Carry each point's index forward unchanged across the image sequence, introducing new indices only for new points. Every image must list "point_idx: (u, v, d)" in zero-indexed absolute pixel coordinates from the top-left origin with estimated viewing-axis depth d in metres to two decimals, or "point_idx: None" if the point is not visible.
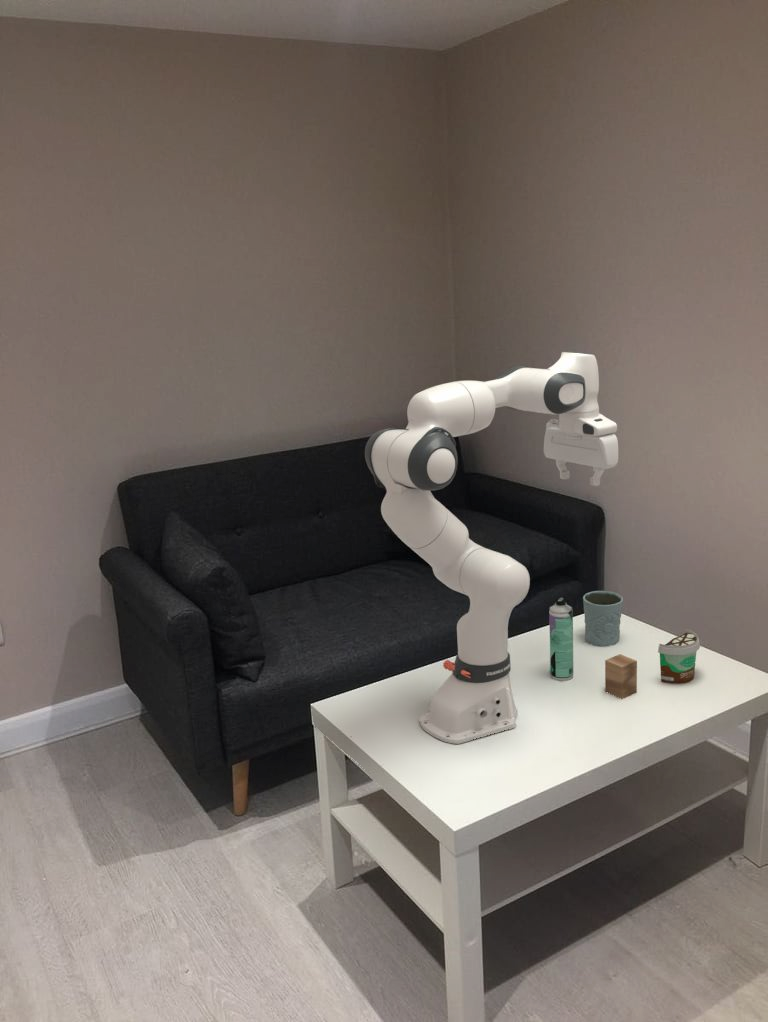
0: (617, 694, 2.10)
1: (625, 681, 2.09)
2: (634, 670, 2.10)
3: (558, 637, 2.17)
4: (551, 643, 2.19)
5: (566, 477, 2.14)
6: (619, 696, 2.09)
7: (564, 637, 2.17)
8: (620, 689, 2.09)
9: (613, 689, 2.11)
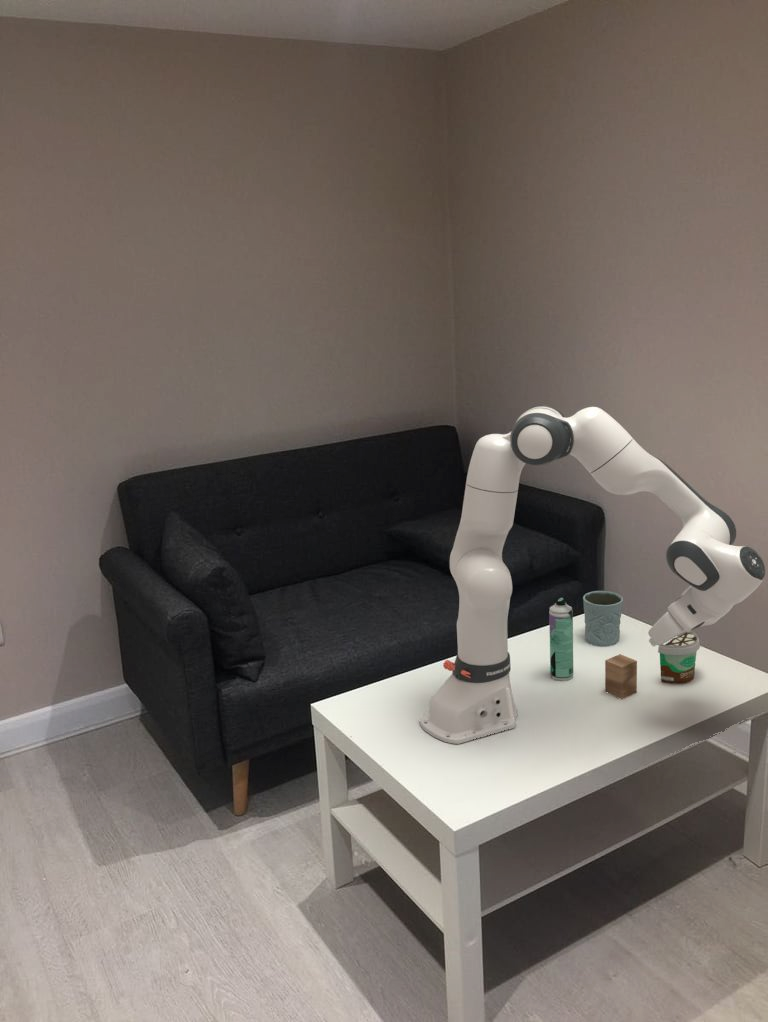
0: (617, 694, 2.10)
1: (625, 681, 2.09)
2: (634, 670, 2.10)
3: (558, 637, 2.17)
4: (551, 643, 2.19)
5: None
6: (619, 696, 2.09)
7: (564, 637, 2.17)
8: (620, 689, 2.09)
9: (613, 689, 2.11)
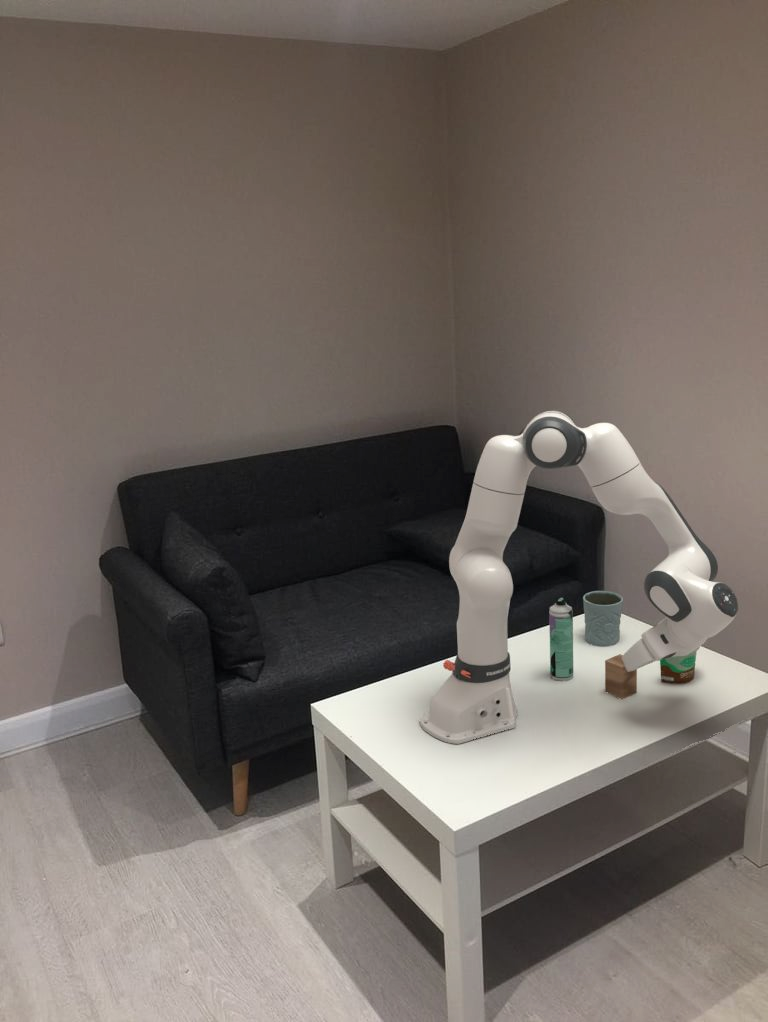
0: (617, 694, 2.10)
1: (625, 681, 2.09)
2: (634, 670, 2.10)
3: (558, 637, 2.17)
4: (551, 643, 2.19)
5: None
6: (619, 696, 2.09)
7: (564, 637, 2.17)
8: (620, 689, 2.09)
9: (613, 689, 2.11)
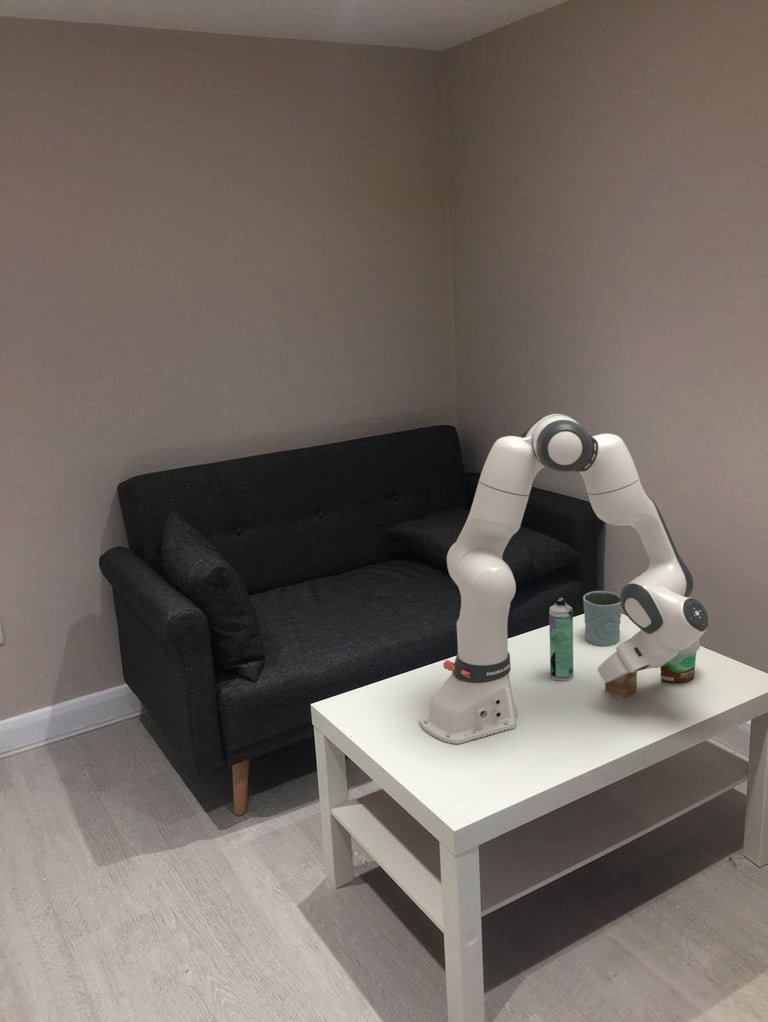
0: (617, 694, 2.10)
1: (625, 681, 2.09)
2: None
3: (558, 637, 2.17)
4: (551, 643, 2.19)
5: None
6: (619, 696, 2.09)
7: (564, 637, 2.17)
8: (620, 688, 2.09)
9: (613, 688, 2.11)
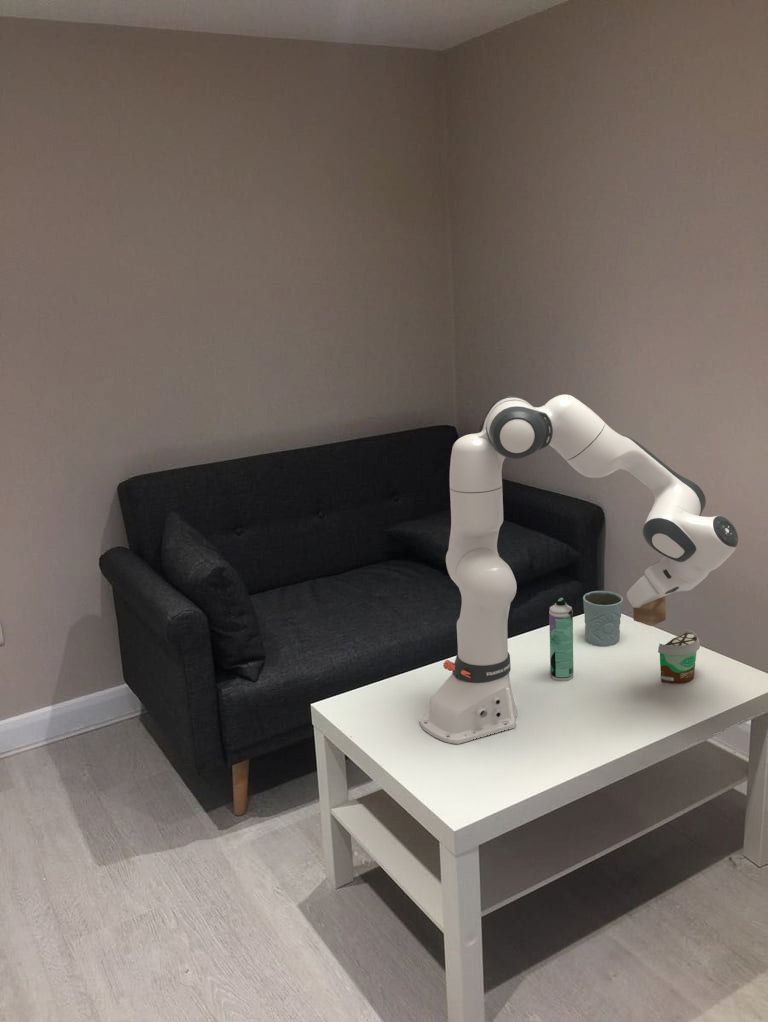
0: (646, 621, 2.07)
1: (654, 607, 2.06)
2: (662, 597, 2.07)
3: (558, 637, 2.17)
4: (551, 643, 2.19)
5: None
6: (648, 623, 2.07)
7: (564, 637, 2.17)
8: (649, 615, 2.06)
9: (641, 616, 2.08)
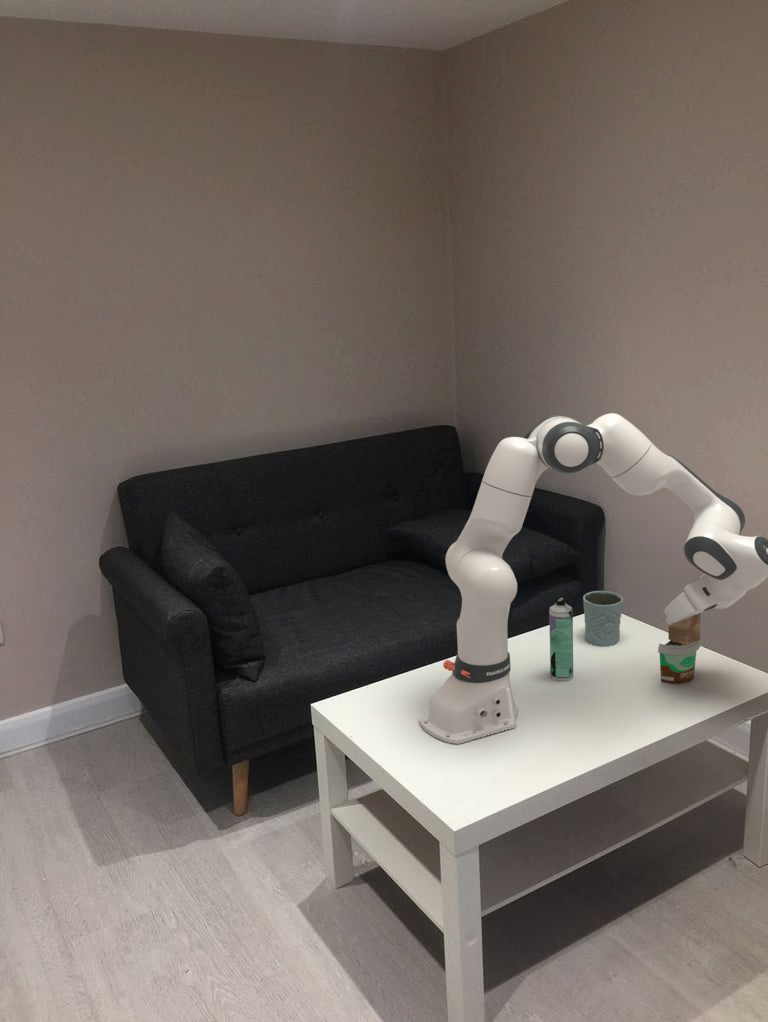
0: (681, 641, 2.12)
1: (690, 627, 2.10)
2: (698, 617, 2.11)
3: (558, 637, 2.17)
4: (551, 643, 2.19)
5: None
6: (683, 643, 2.11)
7: (564, 637, 2.17)
8: (685, 635, 2.10)
9: (677, 636, 2.12)
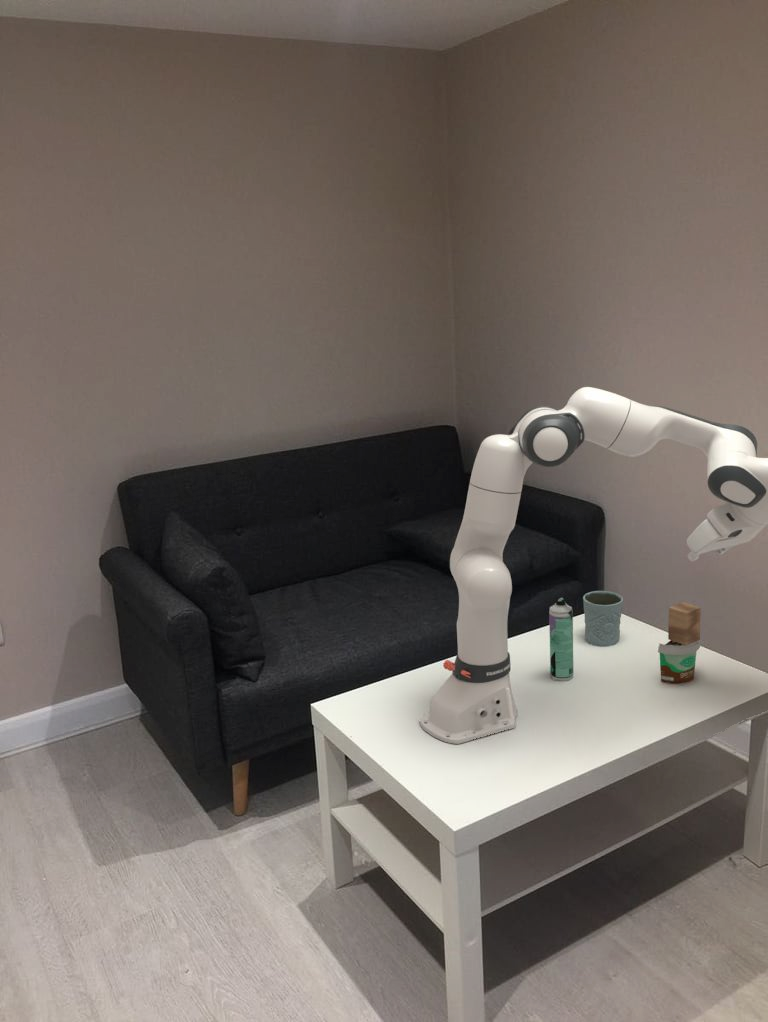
0: (681, 641, 2.12)
1: (689, 627, 2.10)
2: (698, 617, 2.11)
3: (558, 637, 2.17)
4: (551, 643, 2.19)
5: (716, 550, 2.07)
6: (683, 643, 2.11)
7: (564, 637, 2.17)
8: (685, 635, 2.10)
9: (676, 635, 2.13)
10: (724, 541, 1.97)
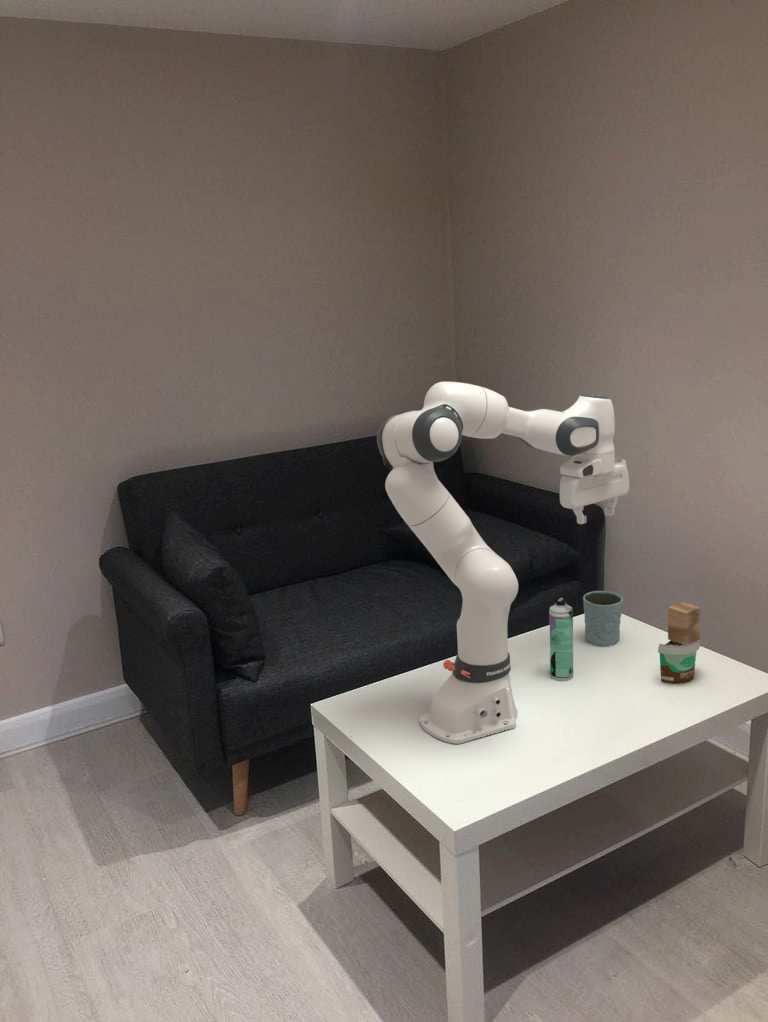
0: (680, 641, 2.12)
1: (689, 627, 2.10)
2: (697, 617, 2.12)
3: (558, 637, 2.17)
4: (551, 643, 2.19)
5: (606, 513, 2.21)
6: (683, 642, 2.11)
7: (564, 637, 2.17)
8: (684, 635, 2.10)
9: (676, 635, 2.13)
10: (593, 489, 2.14)
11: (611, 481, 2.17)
